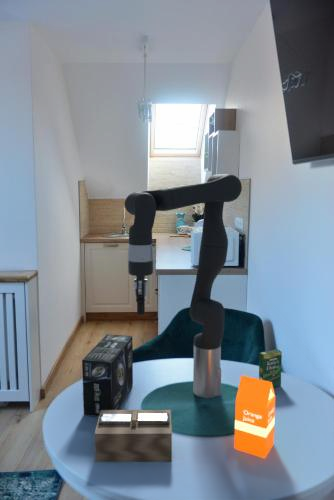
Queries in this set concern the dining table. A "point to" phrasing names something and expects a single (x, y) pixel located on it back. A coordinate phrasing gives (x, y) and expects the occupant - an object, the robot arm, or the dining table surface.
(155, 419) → the clasp
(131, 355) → the box
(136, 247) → the robot arm
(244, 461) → the dining table surface
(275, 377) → the coffee box
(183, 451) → the dining table surface
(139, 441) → the wooden latch case
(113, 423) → the clasp
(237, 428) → the orange juice
